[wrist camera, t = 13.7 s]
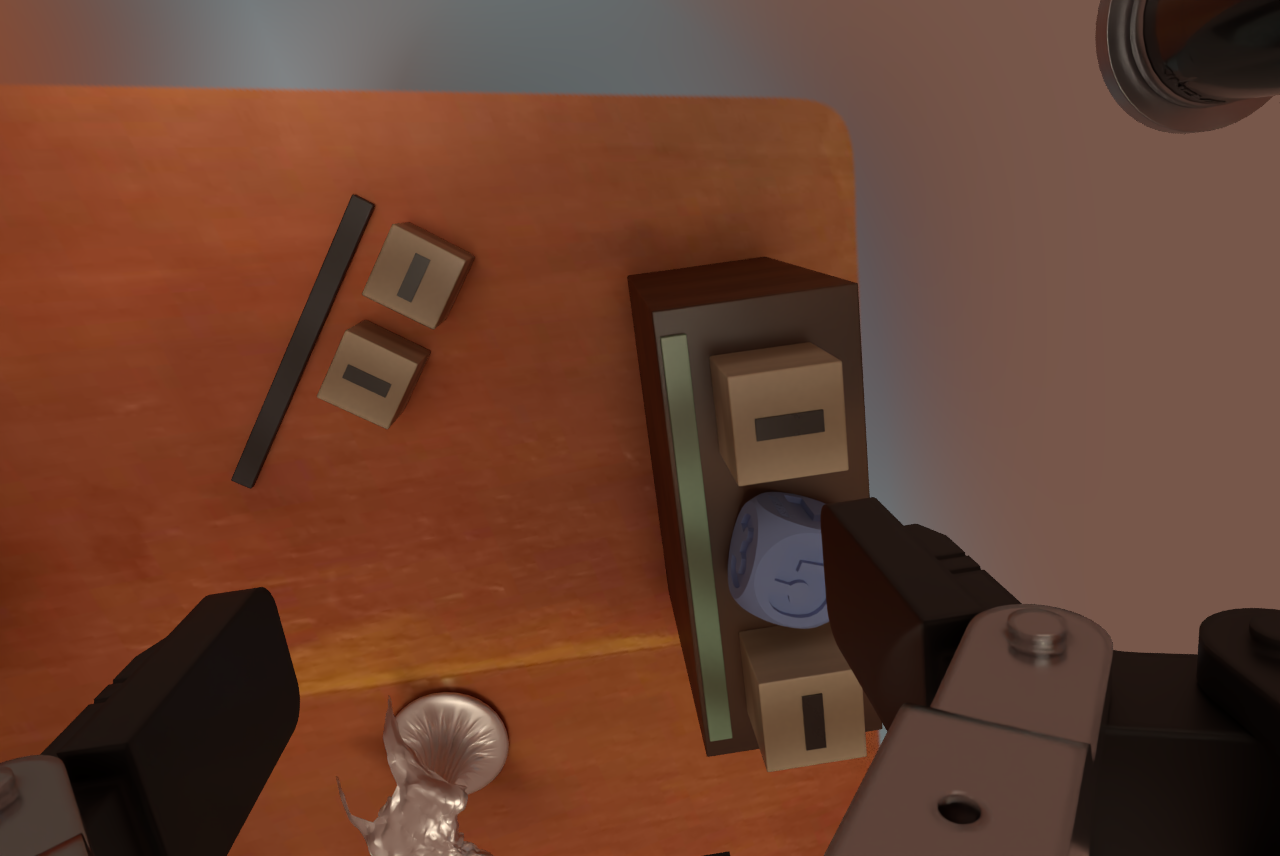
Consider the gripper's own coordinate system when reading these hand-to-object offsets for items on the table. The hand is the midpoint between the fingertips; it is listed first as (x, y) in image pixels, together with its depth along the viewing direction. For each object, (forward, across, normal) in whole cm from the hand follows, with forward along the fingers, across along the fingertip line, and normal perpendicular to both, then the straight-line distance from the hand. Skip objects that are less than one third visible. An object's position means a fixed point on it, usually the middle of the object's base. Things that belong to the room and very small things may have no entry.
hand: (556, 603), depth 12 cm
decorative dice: (+20, -7, +9) cm, 23 cm away
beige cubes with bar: (+36, +13, +2) cm, 38 cm away
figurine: (+36, +12, +27) cm, 47 cm away
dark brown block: (+36, -7, +9) cm, 38 cm away
